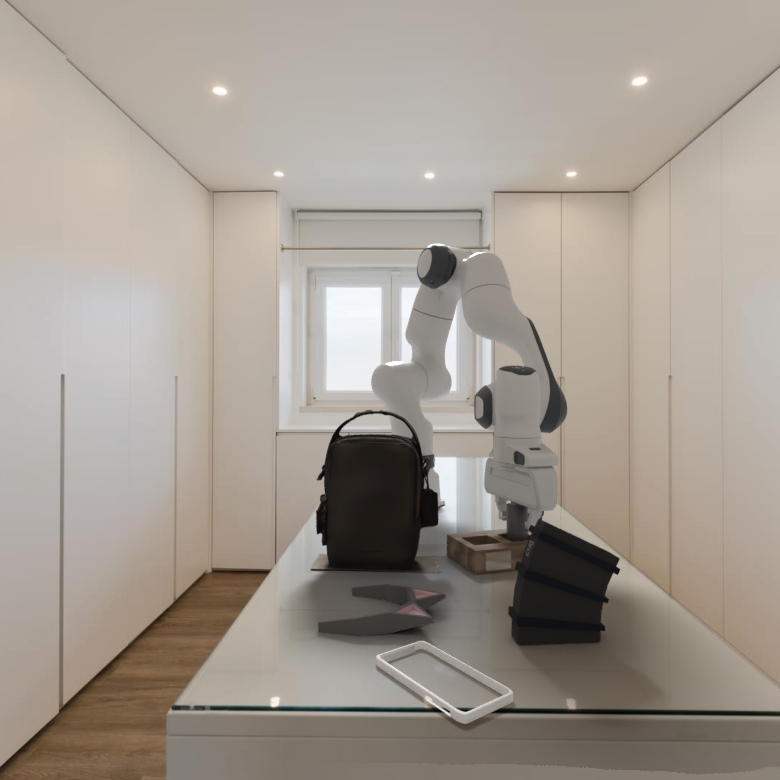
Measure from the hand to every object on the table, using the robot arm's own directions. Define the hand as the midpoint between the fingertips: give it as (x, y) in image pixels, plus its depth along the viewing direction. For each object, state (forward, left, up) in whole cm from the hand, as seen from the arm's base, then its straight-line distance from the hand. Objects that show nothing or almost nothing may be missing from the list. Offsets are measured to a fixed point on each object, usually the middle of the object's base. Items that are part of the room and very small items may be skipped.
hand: (517, 525), depth 107 cm
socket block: (0, -4, -6) cm, 7 cm away
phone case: (+37, -32, -7) cm, 49 cm away
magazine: (+32, -13, -6) cm, 35 cm away
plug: (0, 0, -6) cm, 6 cm away
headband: (+18, -32, -6) cm, 38 cm away
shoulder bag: (-5, -26, -6) cm, 27 cm away
